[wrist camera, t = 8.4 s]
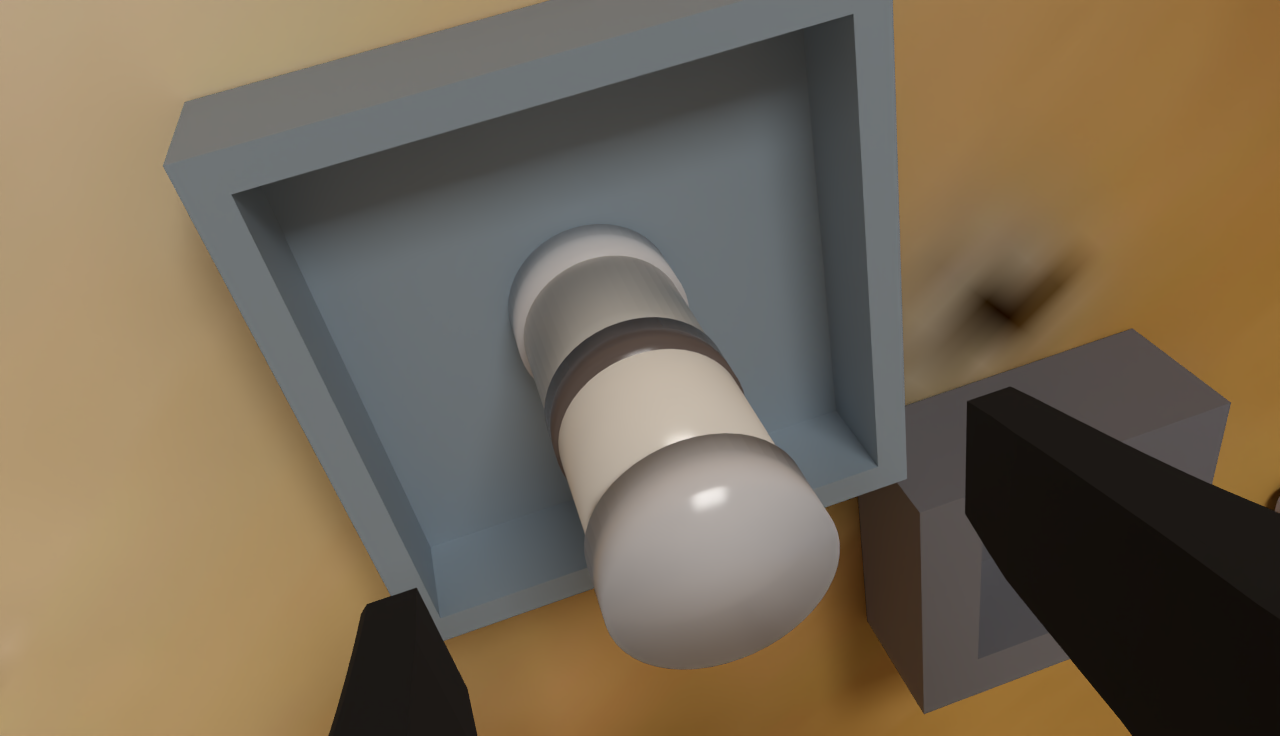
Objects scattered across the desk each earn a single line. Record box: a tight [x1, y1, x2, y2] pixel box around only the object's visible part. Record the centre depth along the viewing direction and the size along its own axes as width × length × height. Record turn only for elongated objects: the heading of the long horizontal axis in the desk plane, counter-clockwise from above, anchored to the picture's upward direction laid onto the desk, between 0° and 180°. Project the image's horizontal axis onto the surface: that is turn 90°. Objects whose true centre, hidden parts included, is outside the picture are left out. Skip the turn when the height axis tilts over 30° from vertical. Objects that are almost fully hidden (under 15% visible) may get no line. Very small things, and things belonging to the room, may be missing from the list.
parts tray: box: [163, 0, 907, 641], centre depth 17 cm, size 10×10×2 cm
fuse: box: [508, 224, 840, 669], centre depth 14 cm, size 3×3×7 cm
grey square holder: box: [858, 329, 1231, 714], centre depth 23 cm, size 7×7×3 cm
